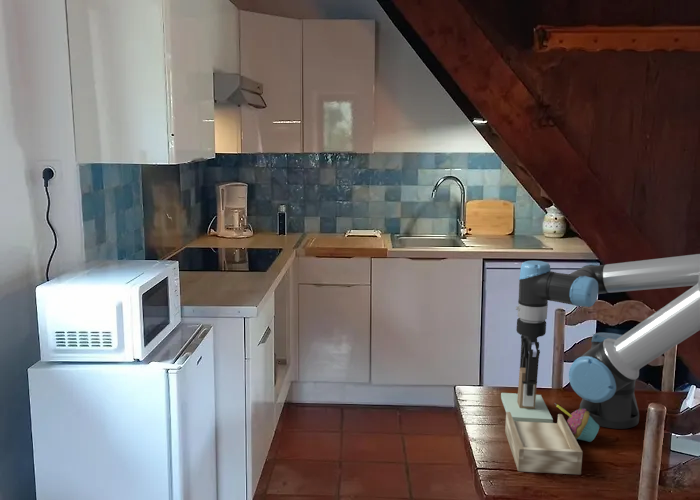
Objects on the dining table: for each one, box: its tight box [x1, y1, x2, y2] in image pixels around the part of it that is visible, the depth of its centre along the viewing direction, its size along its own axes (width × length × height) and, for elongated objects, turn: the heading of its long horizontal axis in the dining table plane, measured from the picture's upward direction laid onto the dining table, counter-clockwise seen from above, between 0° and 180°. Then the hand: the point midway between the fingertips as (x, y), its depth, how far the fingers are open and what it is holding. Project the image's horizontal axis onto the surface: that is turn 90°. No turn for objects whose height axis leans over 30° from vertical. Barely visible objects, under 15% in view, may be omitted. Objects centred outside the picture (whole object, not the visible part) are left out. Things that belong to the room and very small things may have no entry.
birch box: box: [504, 411, 584, 475], centre depth 161 cm, size 14×20×6 cm
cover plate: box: [500, 367, 554, 423], centre depth 180 cm, size 11×16×12 cm
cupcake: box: [554, 402, 600, 443], centre depth 167 cm, size 9×8×12 cm
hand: (526, 401), depth 180 cm, fingers closed on cover plate, 4 cm apart
